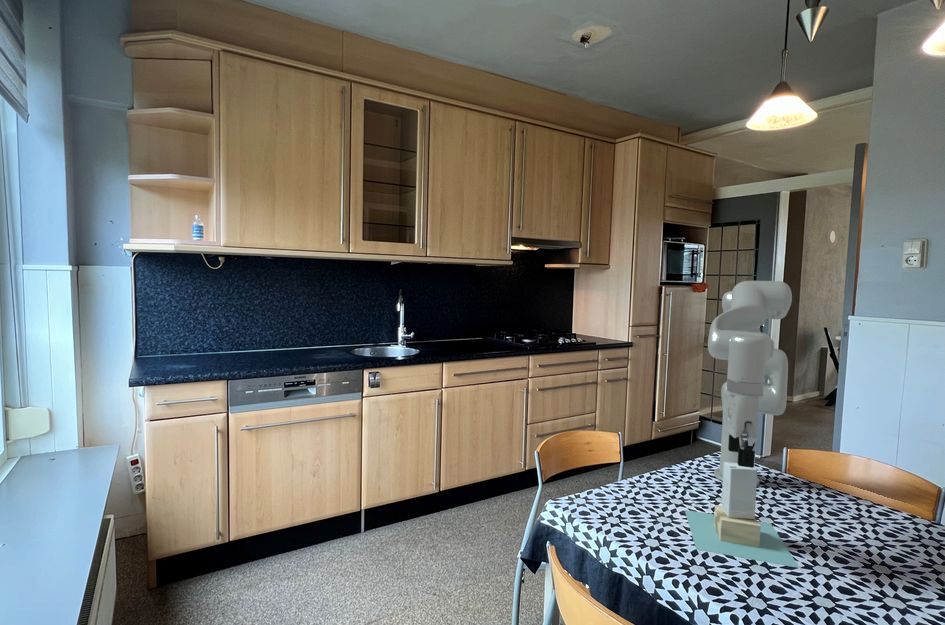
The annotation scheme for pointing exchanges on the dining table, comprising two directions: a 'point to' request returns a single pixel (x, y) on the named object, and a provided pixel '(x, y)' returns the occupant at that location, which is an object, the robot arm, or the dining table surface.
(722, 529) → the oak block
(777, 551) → the base board
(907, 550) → the dining table surface
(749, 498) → the skincare box
